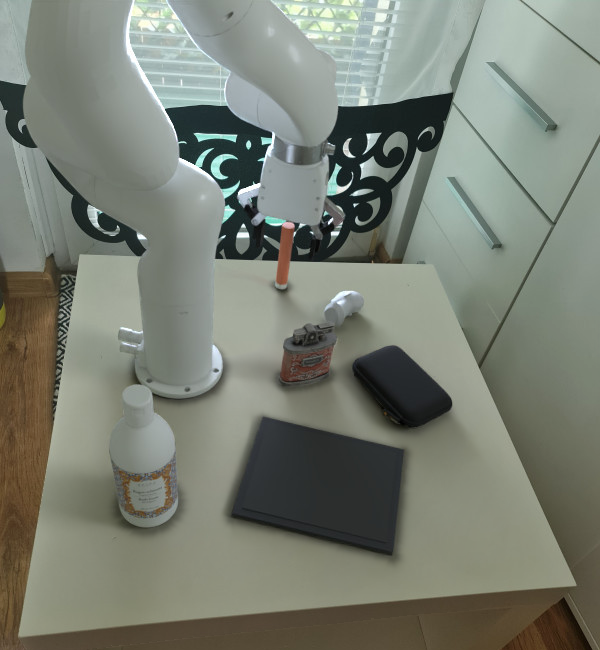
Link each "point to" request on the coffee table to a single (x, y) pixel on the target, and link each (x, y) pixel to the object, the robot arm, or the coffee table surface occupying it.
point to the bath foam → (143, 461)
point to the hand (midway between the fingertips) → (285, 248)
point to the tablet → (322, 485)
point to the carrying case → (401, 387)
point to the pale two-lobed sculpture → (343, 306)
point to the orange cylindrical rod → (284, 254)
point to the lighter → (307, 355)
